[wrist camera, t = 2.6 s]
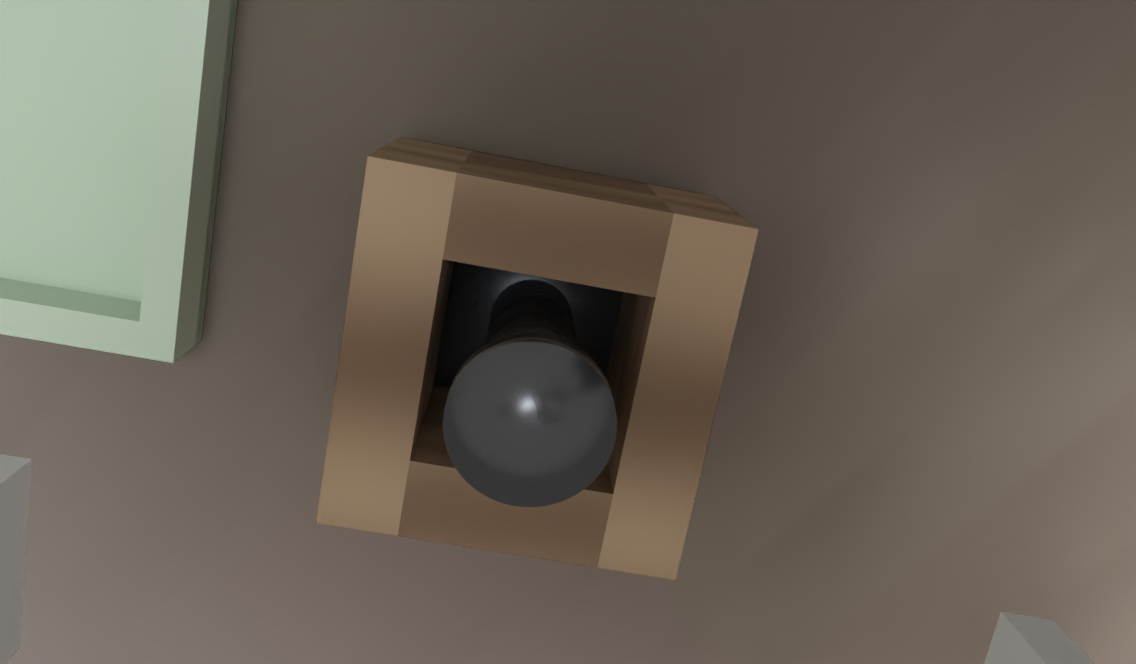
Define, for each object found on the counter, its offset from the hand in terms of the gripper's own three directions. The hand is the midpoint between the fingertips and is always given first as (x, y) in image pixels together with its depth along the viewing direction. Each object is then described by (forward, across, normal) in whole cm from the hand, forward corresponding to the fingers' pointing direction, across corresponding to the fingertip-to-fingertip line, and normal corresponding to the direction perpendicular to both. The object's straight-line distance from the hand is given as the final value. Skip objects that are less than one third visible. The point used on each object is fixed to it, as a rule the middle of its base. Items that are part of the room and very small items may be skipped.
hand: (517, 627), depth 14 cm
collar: (+17, 0, 0) cm, 17 cm away
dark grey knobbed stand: (+18, 0, 0) cm, 18 cm away
